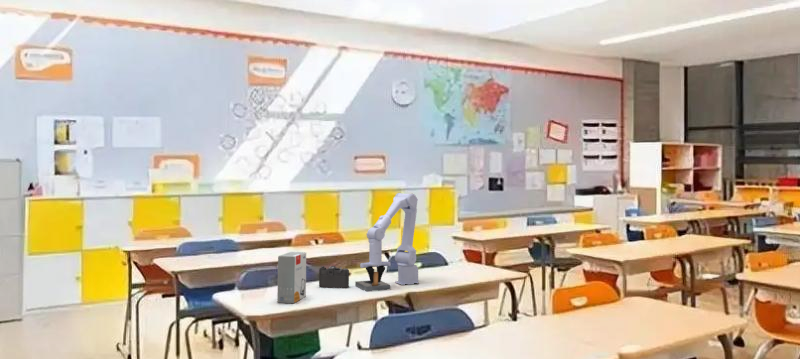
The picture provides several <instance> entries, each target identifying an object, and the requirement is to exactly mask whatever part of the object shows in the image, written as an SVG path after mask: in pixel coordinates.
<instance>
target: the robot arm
mask: <svg viewBox="0 0 800 359" xmlns="http://www.w3.org/2000/svg"><path fill="white" fill-rule="evenodd" d="M417 207H418V198H417V196H416V195H415V193H403V192H398V193H396V194H395V196H394V197H393V202H392V203H391V205H390V206H389V207H388V210H387V211H386V213H385V214H384V215H380V216H379V217H378V220H376V222H375V223H374V225H373V226H372V227H370V228H369V229H368V230H367V233H366V237H367V239H368V244H369V245H368V246H369V252H368V254H369V258H368V260H369V261H368V262H361V263H360V264H359V266H360V268H361V269H364V268H365V270H366V272H367V275H368V277H369V281H370V282H371V283H373V281H374V279H373V275H374V272H375V268H376V272H378V282H381V281H382V277H383V275H384V272H385V270H386V267H391V261H382V257H383V256H382V254H383V253H382V252H383V250H382V246H383V245H382V243H383V242H382V240H383V239H385V233H386V232H387V229H388V228H389V226H391V224H392V219H393V218H394V217H395V215H396V214H397V213H398V212H399V211H400V209H401V210H403V212H404V219H403V220H404V222H403V228H402V234H401V235H402V236H401V237H402V238H401V244H400V245H399V246H398V247H397V248H396V252H395V255H394V260H395V263H396V265H397V269H398V270H397V272H398V273H397V279H398V280H397V281H396V280H395V281H394V282H395V283H396V284H398V285H400V284H401V285H400V286H405V284H408V285H415V284H414V283H419V267H418V266H417V265H416V262H417V250H416V248H415V247H413V242H414V235H415V234H414V233H415V229H416V228H415V227H416V220H417V219H416V218H417V212H418V211H417V210H418V209H417Z"/></svg>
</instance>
